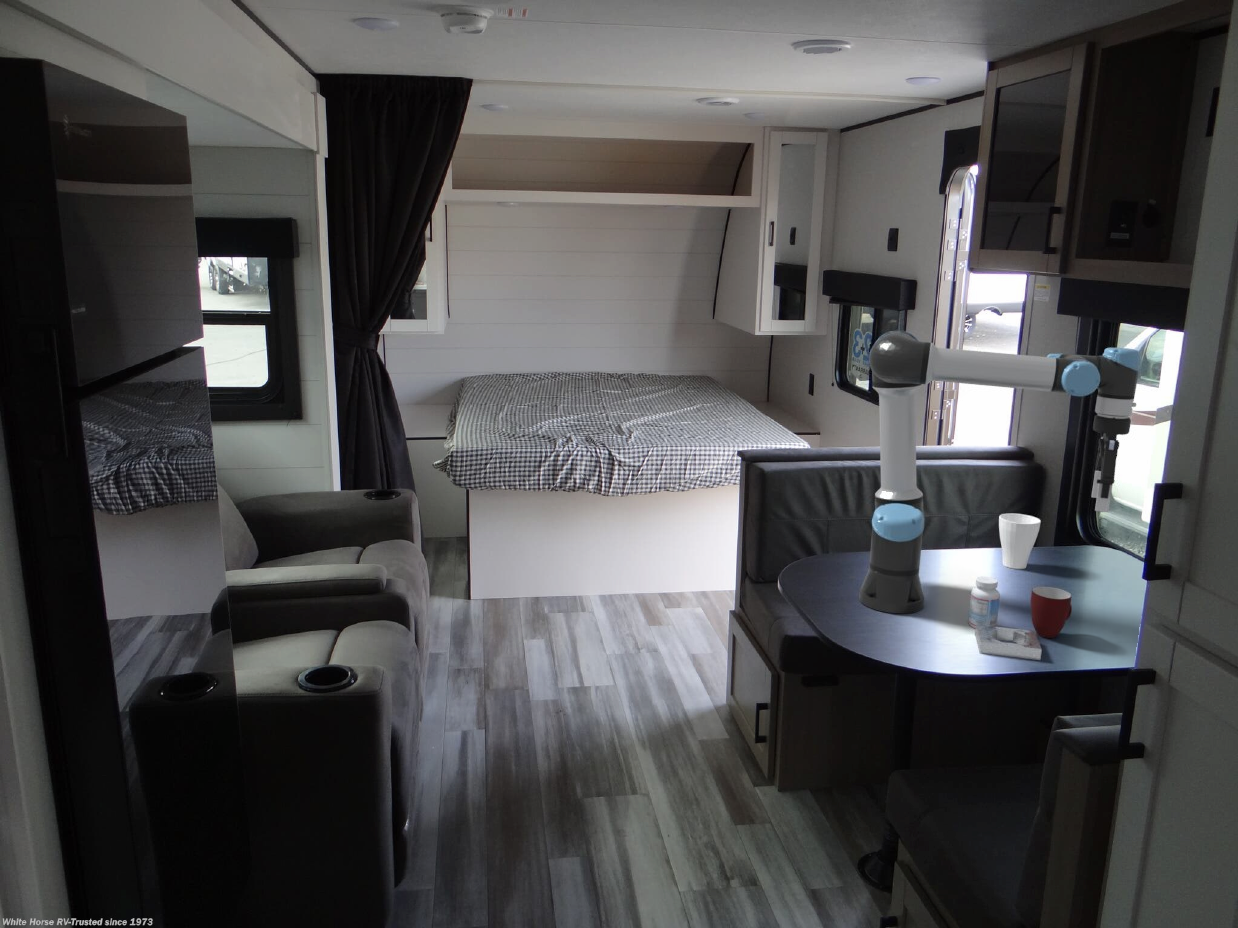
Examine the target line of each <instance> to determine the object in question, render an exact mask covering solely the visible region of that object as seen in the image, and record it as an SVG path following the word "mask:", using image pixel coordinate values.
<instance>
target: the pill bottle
mask: <svg viewBox="0 0 1238 928" xmlns="http://www.w3.org/2000/svg"><path fill="white" fill-rule="evenodd" d="M998 585H999V581H998V580H997V579H996V578H993V577H990V576H977V577H976V578H975V586H974V587H973V588H972V589H971V593H970V602H969V603H970V604H969V613H968V624H969V626H970V627H972V628H973V629H975V630H976V625H985V626H993V627H998V626H997V624H998V617H999V616H998V615H999V606H1000V595H1001V594H1000V592H999V589H998V590H997V588H998Z"/></svg>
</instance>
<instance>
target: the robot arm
mask: <svg viewBox="0 0 1238 928" xmlns="http://www.w3.org/2000/svg"><path fill="white" fill-rule="evenodd" d="M868 361H869V365H870V370H871V371H872V372H871V373H872V375H871V376H872V377H871V378H872V388H873V390H875V391H876V392H877V394H878V397H879V398H878V400H879V401H878V406H879V409H878V410H879V451H880V452H879V453H880V455H879V456H880V488H879V489H877V491H876V492H875V493H874V506H875V508H874V509H875V510H874V512H873V515H872V520H871V526H872V529H871V540H870V553H869V554H870V555H869V565H868V566H869V567H868V571H867V572H866V575H865V577H864V580H863V581H862V584H861V587H860V588H859V596H858V600H859V601H860V603H861V604H863V605H864V606H866V607H868V608H870V609H873V610H876V611H879V612H880V611H881V612H885V613H889V614H890V613H891V614H911V613H916V612H919V611H921V610H922V609H924V606H925V605H924V604H925V595H924V591H923V588H922V587H923V585H922V582H921V578H920V566H921V565H920V564H921V556H922V554H921V553H922V546H923V545H922V543H923V532H924V529H925V513H924V494H923V492H922V490H920V489H919V488H918V487H917V427H916V421H917V419H916V413H917V411H916V392H917V391H918V390H919V389H920V388H921V387H922V386H923V385H928V384H930V383H931V382H933V381H934V382H944V383H945V382H947V383H956V384H967V385H978V386H987V387H999V388H1010V389H1019V390H1022V389H1023V390H1031V391H1041V392H1042V391H1043V392H1053V393H1061V394H1062V393H1063V394H1068V395H1071V396H1074V397H1086V396H1089V395H1091V394H1092V393H1094V392H1095V391H1096V389H1097V390H1098V393H1097V397H1096V403H1095V409H1094V412H1095V413H1096V415H1094V420H1093V424H1092V425H1093V426H1092V430H1093V431H1095V432H1096V433H1099V434H1101V435H1100V438H1099V439H1098V448H1097V455H1096V460H1095V461H1096V462H1095V463H1094V465H1095V470H1094V475H1093V476H1094V477H1093V485H1092V490H1091V498H1093V499H1094V498H1095V499H1096V502H1095V508H1094V511H1095V512H1102V513H1103V512H1104V513H1109V511H1110V504H1111V503H1110V502H1111V498H1112V497H1111V496H1112V489H1113V484H1115V475H1116V474H1115V473H1116V467H1117V466H1116V465H1117V459H1118V458H1117V457H1118V450H1119V448H1120V441H1119V440H1118V439H1117V436H1118V435H1121V436H1125V435H1128V434H1129V433H1130V430H1131V429H1130V428H1131V422H1132V419H1131V416H1132V414H1133V408H1135V407H1137V402H1134V401H1135V395H1136V389H1137V384H1138V378H1139V373H1140V364H1141V353H1140V352H1139V350H1137V349H1136V348H1135V349H1134V348H1127V347H1107V348H1105V349H1104V352H1103V353H1102V355H1086V354H1085V355H1084V354H1083V355H1082V354H1074V353H1073V354H1069V353H1049V354H1048V355H1047V356H1040V355H1039V356H1037V355H1027V354H1026V355H1024V354H1017V353H1016V354H1015V353H1014V354H1013V353H1002V352H992V351H991V352H990V351H978V350H969V349H967V350H966V349H955V348H945V347H937V346H936V345H935V344H934V343H933V342H929V341H922V340H921V341H919V339H918V338H917V337H916V336H915V335H913V334H912V333H910V332H908V331H905V330H892V331H891V330H890V331H887V332H885V333H884V334H882V335H880V336H879V337H878V339H877V340H876V341H875V342H874V344H873V345H872V347H871V349H870V352H869V358H868Z"/></svg>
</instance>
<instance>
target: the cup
mask: <svg viewBox="0 0 1238 928" xmlns="http://www.w3.org/2000/svg"><path fill="white" fill-rule="evenodd" d="M1041 522H1042V521H1041V519H1040V518H1038V517H1035V516H1033V515H1028V514H1022V513H1012V512H1011V513H1001V514H1000V515H999V517H998V529H999V540H1000V544H1001V552H1002V554H1001V555H1002V565H1003V566H1004V567H1006V568H1009V569H1013V570H1025V569H1026V568H1027V564H1028V561H1029V558H1030V554H1031V552H1032V549H1033V547H1034V545H1035V543H1036V540H1037V538H1038V534H1039V532H1040V528H1041Z"/></svg>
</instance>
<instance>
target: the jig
mask: <svg viewBox="0 0 1238 928" xmlns="http://www.w3.org/2000/svg"><path fill="white" fill-rule="evenodd" d="M974 636H975V640H976V644H977V648H978V652H979V654H985V655H993V656H1001V657H1010V658H1019V659H1027V660H1034V661H1035V660H1037V661H1041V658H1042V657H1041V656H1042V646H1041V644H1040V642H1039V638H1038V637H1037V633H1036V631H1035V630H1027V629H1019V628H1011V627H1010V628H1009V627H1000V626H996V627H993V626H985V625H976V629H975V634H974ZM1002 641H1005V642H1002ZM1009 642H1011V643H1009ZM1012 642H1013V643H1012Z"/></svg>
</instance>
